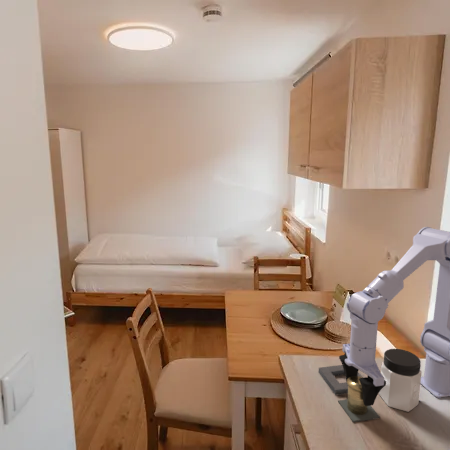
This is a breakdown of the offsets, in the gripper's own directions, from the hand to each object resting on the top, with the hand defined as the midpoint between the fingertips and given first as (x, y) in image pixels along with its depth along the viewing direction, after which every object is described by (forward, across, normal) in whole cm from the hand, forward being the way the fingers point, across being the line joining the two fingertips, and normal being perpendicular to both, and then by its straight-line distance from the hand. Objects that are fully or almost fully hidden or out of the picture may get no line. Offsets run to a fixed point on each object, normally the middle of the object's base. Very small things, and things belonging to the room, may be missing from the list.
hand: (359, 393), depth 83 cm
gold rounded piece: (+4, 0, 0) cm, 4 cm away
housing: (+4, -11, +2) cm, 12 cm away
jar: (+5, -2, +12) cm, 13 cm away
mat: (+4, 0, 0) cm, 4 cm away
